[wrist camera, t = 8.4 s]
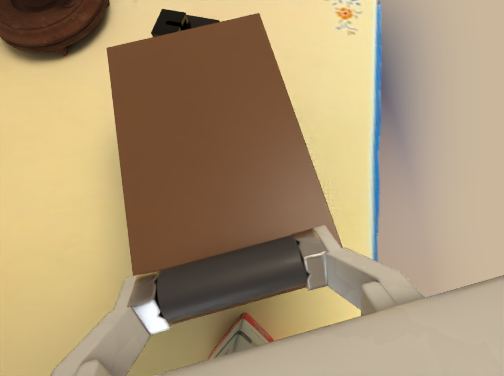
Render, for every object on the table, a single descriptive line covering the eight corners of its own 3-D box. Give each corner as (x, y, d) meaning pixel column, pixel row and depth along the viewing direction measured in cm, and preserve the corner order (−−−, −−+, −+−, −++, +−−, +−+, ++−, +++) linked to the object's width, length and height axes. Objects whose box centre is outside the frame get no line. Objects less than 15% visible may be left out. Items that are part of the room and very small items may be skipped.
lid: (347, 273, 15) (401, 280, 9) (146, 329, 14) (71, 373, 9) (259, 22, 20) (258, -70, 15) (112, 56, 20) (54, -26, 14)
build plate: (191, 101, 31) (179, 74, 26) (136, 89, 31) (115, 61, 27) (220, 22, 34) (214, -14, 29) (169, 14, 35) (155, -23, 30)
